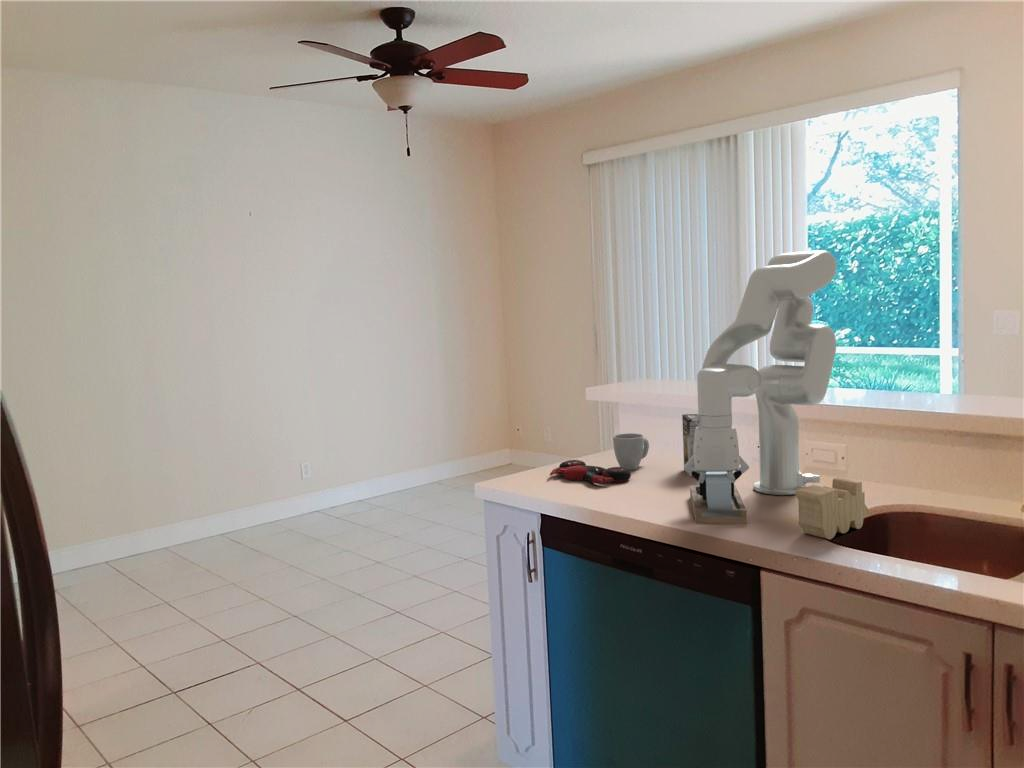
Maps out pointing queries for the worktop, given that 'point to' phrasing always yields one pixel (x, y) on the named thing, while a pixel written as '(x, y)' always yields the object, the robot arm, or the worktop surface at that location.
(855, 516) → the toy train
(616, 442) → the mug
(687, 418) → the coffee box
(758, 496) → the worktop surface
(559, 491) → the worktop surface
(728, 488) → the light blue block
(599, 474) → the toy motorcycle
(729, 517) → the cradle
